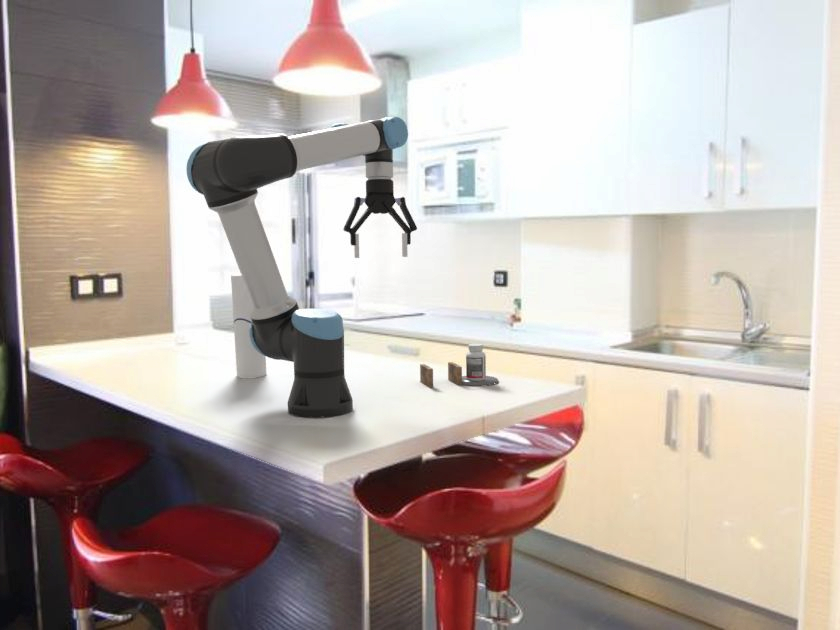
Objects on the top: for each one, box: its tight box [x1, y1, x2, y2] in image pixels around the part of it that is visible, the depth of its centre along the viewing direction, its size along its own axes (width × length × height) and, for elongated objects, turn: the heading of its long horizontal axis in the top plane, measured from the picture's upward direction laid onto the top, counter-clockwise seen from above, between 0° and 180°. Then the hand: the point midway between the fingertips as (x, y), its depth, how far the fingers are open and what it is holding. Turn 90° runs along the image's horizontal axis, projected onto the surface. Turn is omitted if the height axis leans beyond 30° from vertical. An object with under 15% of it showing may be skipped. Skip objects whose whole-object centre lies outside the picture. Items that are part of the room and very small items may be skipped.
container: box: [230, 273, 267, 379], centre depth 206 cm, size 9×9×30 cm
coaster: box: [461, 375, 499, 387], centre depth 194 cm, size 12×12×1 cm
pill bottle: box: [465, 343, 487, 381], centre depth 194 cm, size 5×5×10 cm
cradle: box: [419, 361, 463, 389], centre depth 192 cm, size 8×9×5 cm
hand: (381, 257), depth 193 cm, fingers open, 13 cm apart
